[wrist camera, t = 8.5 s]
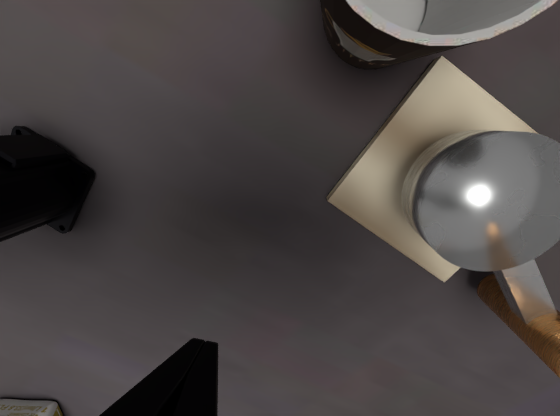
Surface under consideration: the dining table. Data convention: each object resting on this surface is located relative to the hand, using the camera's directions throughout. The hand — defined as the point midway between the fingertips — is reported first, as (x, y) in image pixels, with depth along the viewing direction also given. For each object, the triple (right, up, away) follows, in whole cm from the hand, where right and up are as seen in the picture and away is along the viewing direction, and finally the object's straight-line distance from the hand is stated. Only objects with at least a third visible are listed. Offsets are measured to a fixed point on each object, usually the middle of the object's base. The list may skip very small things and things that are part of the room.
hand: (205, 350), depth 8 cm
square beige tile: (+14, +6, +10) cm, 18 cm away
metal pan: (+15, +3, +10) cm, 18 cm away
